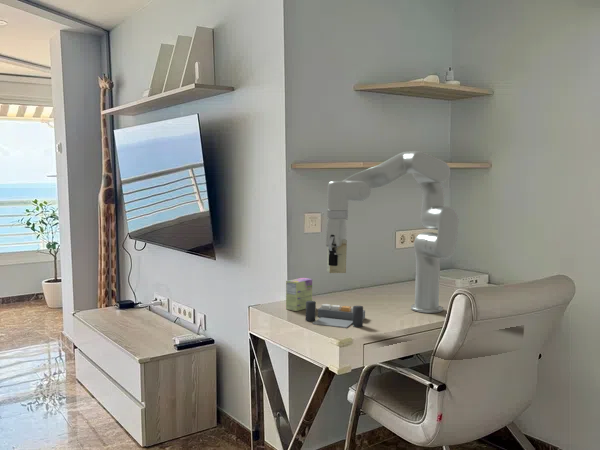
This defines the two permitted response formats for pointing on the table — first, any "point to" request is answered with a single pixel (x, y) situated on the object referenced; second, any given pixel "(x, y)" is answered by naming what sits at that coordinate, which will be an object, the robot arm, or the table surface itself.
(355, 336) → the table surface
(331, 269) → the skincare box
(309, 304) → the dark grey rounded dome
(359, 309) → the dark grey capsule
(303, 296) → the box
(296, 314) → the table surface
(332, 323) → the grey button panel
